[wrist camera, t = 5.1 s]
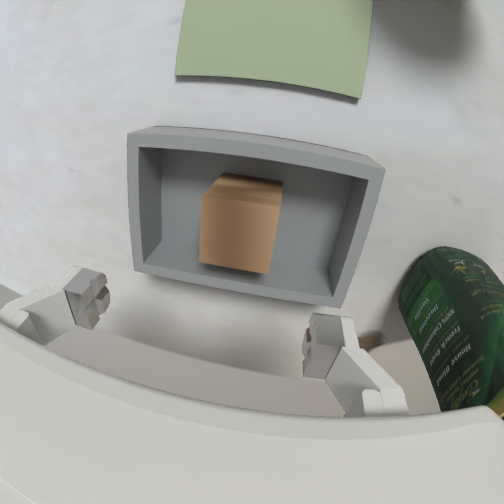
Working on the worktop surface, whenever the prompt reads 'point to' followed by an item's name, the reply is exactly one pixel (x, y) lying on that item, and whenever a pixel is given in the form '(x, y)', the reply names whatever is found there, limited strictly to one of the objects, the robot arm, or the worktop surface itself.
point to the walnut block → (240, 222)
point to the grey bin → (290, 217)
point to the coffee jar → (458, 327)
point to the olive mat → (278, 42)
